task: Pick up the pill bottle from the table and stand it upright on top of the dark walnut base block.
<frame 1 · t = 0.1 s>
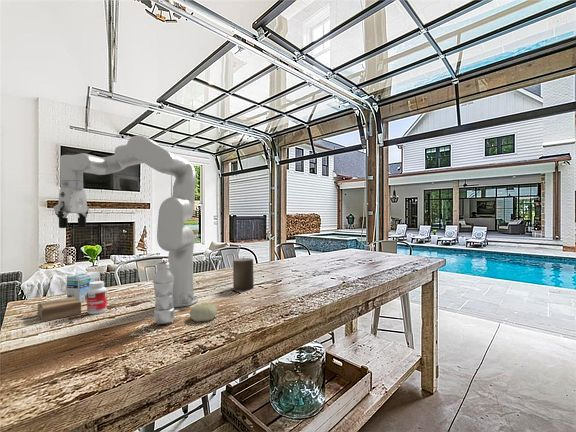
hand: (73, 227, 119), 31 cm above the table, tool pointing down, fingers open, 9 cm apart
plastic bottle: (164, 323, 96), on the table
sea urchin shell: (203, 318, 100), on the table
light bulb box: (84, 299, 125), on the table
pillar candle: (243, 288, 140), on the table
pill bottle: (97, 312, 108), on the table
walnut base: (59, 313, 106), on the table
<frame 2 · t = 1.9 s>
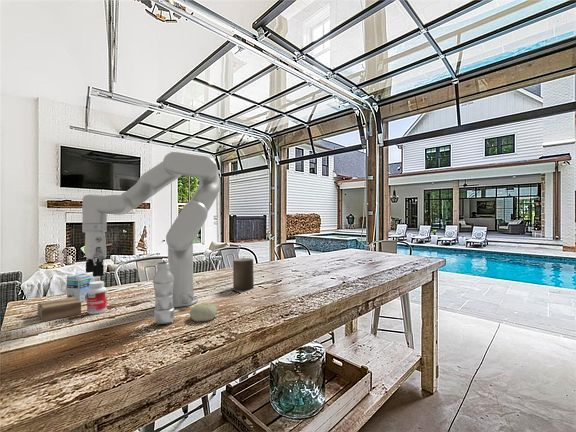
hand: (94, 274, 108), 14 cm above the table, tool pointing down, fingers open, 9 cm apart
nothing on the table moved.
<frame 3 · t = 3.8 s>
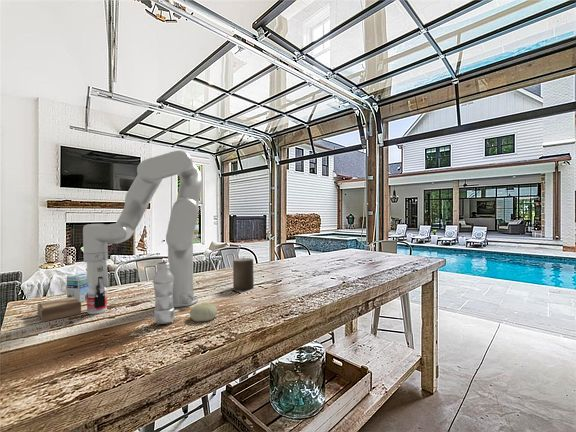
hand: (97, 304, 108), 3 cm above the table, tool pointing down, fingers closed on pill bottle, 6 cm apart
pill bottle: (97, 312, 108), on the table, touching gripper
everything else where it was.
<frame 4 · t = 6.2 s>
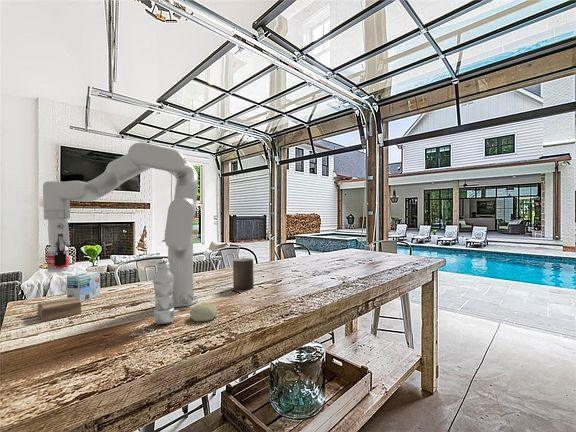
hand: (58, 264, 106), 18 cm above the table, tool pointing down, fingers closed on pill bottle, 6 cm apart
pill bottle: (58, 271, 106), point 16 cm above the table, touching gripper
everything else where it was.
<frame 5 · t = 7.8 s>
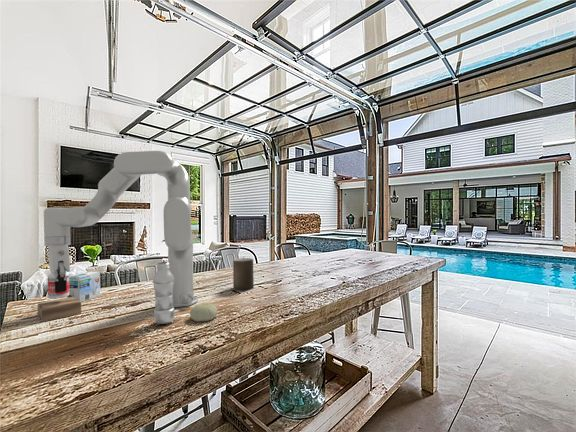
hand: (59, 289, 106), 9 cm above the table, tool pointing down, fingers closed on pill bottle, 6 cm apart
pill bottle: (59, 297, 106), point 6 cm above the table, touching gripper
everything else where it was.
when the fingers open (8 cm above the table, at t = 8.8 s): pill bottle drops 1 cm, resting on walnut base.
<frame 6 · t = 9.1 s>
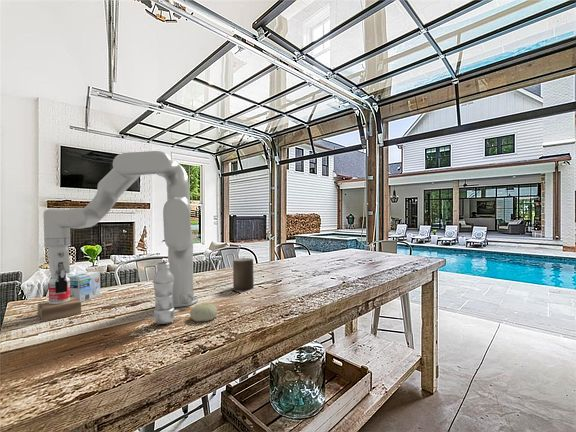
hand: (58, 289, 106), 9 cm above the table, tool pointing down, fingers open, 8 cm apart
pill bottle: (59, 302, 106), point 4 cm above the table, touching walnut base
everything else where it was.
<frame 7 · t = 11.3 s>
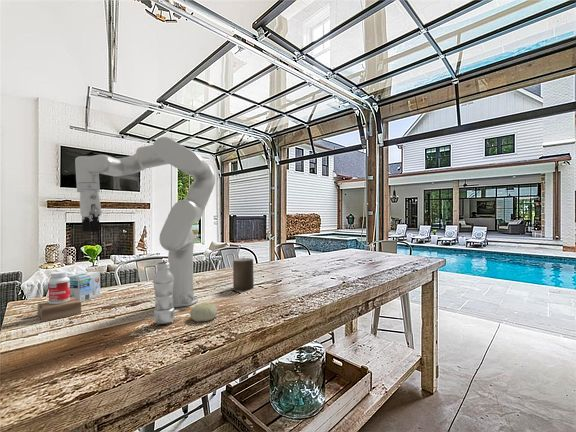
hand: (91, 231, 115), 30 cm above the table, tool pointing down, fingers open, 9 cm apart
nothing on the table moved.
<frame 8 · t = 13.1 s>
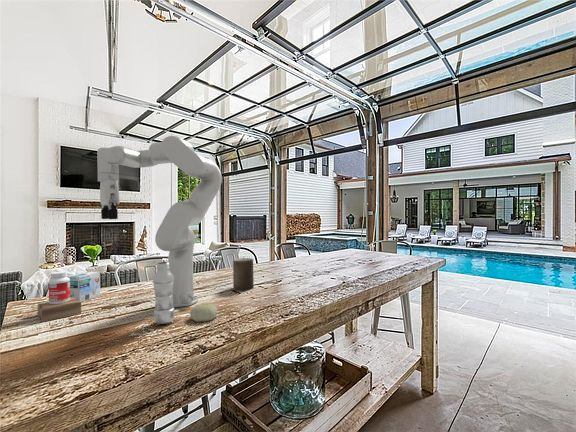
hand: (109, 219, 122), 34 cm above the table, tool pointing down, fingers open, 9 cm apart
nothing on the table moved.
at the end: pill bottle inside the target area on the walnut base (0.3 cm from its centre), point 4.1 cm above the walnut base's base; pill bottle tilted 0°; the gripper is holding nothing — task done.
